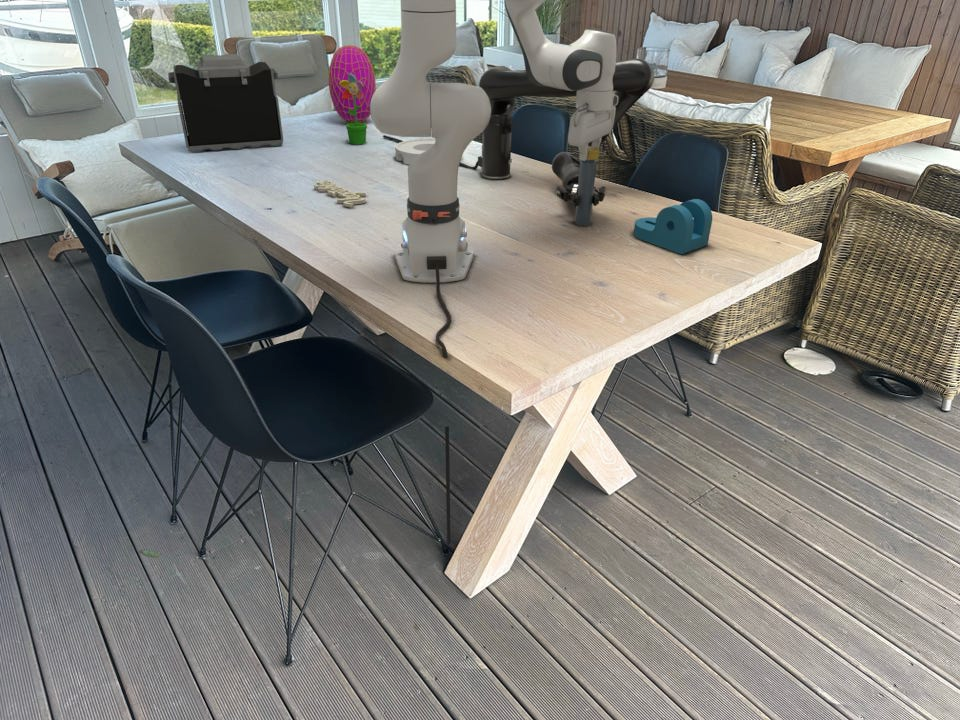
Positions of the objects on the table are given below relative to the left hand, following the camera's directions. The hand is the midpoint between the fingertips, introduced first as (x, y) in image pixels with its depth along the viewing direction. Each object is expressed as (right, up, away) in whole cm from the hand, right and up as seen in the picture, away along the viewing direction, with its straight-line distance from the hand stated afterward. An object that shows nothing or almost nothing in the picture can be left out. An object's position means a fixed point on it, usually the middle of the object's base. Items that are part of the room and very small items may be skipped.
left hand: (588, 157), depth 177 cm
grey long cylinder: (0, -15, +9) cm, 18 cm away
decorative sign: (-69, -3, +29) cm, 75 cm away
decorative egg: (-81, +49, +116) cm, 150 cm away
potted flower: (-75, +30, +85) cm, 117 cm away
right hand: (0, -11, +3) cm, 11 cm away
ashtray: (-46, +19, +67) cm, 84 cm away
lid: (0, +2, -1) cm, 2 cm away
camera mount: (+19, -22, -1) cm, 29 cm away
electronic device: (-121, +29, +82) cm, 149 cm away
